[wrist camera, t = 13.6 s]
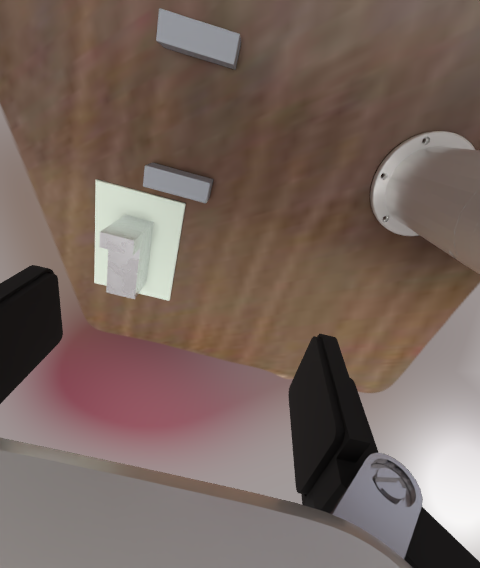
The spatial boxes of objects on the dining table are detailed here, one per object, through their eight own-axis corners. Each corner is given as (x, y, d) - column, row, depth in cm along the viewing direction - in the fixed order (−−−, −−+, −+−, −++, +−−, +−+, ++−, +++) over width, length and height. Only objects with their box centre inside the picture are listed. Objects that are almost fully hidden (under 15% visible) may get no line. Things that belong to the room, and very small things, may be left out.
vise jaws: (241, 41, 31) (239, 34, 28) (209, 198, 39) (206, 203, 36) (167, 18, 30) (159, 8, 28) (150, 182, 38) (143, 186, 36)
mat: (185, 203, 39) (185, 204, 39) (170, 299, 47) (169, 300, 47) (97, 179, 39) (95, 180, 38) (95, 281, 46) (94, 282, 46)
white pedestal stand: (153, 222, 40) (134, 240, 34) (146, 282, 45) (127, 309, 39) (125, 214, 40) (99, 231, 34) (120, 276, 45) (97, 301, 38)
